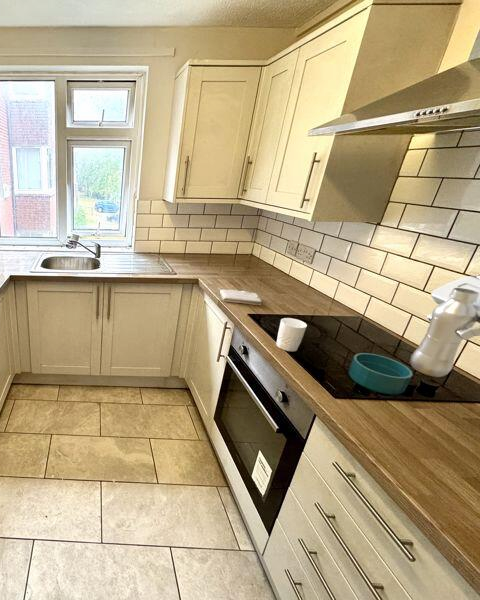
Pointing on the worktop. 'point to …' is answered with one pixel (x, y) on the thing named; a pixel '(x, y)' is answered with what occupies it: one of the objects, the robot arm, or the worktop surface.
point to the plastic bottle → (445, 333)
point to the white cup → (290, 334)
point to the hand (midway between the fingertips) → (444, 328)
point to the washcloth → (240, 297)
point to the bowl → (379, 373)
